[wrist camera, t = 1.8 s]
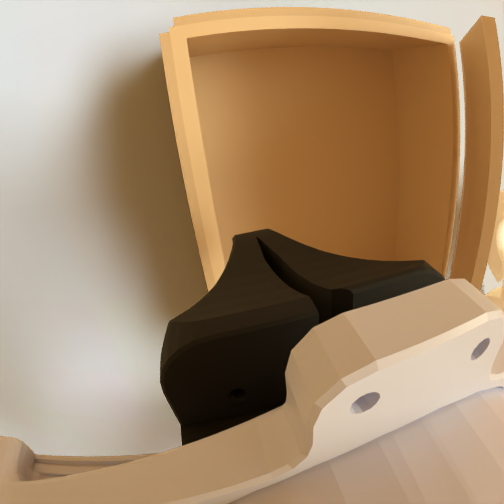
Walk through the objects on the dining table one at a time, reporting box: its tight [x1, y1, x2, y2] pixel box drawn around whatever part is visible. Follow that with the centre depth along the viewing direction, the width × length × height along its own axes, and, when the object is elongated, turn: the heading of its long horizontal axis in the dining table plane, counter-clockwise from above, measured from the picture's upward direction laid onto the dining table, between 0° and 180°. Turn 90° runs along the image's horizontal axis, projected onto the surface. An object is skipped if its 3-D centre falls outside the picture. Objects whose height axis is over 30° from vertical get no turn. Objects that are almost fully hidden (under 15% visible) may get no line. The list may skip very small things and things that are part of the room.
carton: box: [159, 7, 460, 292], centre depth 17 cm, size 19×14×6 cm
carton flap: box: [450, 16, 504, 291], centre depth 12 cm, size 17×7×1 cm
